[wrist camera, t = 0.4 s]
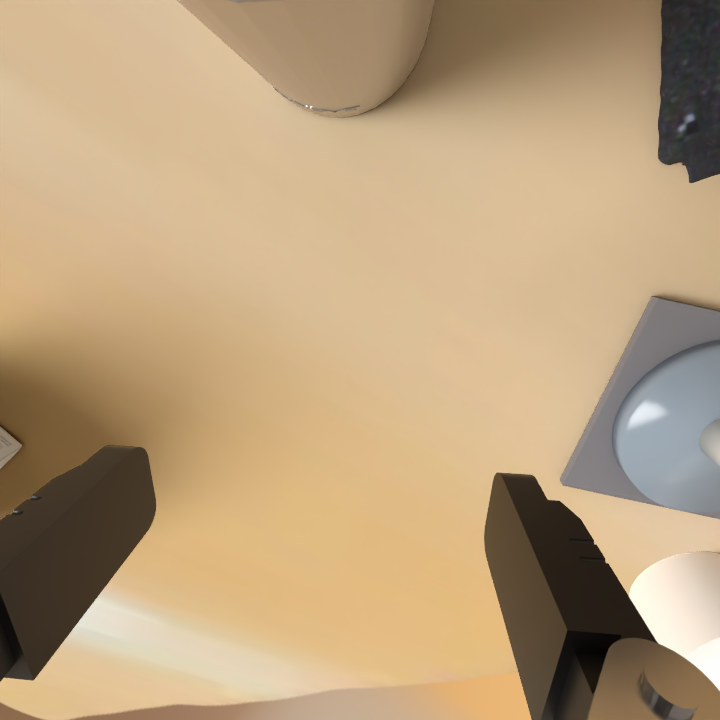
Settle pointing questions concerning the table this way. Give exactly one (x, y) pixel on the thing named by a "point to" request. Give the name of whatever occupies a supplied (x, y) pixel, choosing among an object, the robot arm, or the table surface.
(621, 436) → the lid
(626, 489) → the mat
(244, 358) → the table surface
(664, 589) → the white cylinder
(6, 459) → the tea box
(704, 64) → the dark slate chunk
